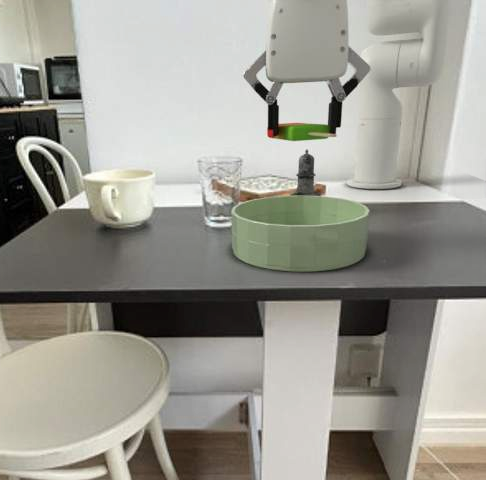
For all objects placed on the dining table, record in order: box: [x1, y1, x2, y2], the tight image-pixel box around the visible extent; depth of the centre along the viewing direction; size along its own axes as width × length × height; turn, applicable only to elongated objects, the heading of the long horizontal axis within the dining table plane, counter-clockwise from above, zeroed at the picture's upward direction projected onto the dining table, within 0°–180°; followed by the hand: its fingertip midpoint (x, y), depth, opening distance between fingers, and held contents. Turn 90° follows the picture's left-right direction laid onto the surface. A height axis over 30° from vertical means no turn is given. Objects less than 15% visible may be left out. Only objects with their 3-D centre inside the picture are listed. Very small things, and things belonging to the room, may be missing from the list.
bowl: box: [230, 195, 371, 273], centre depth 63 cm, size 19×19×6 cm
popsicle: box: [266, 122, 337, 142], centre depth 59 cm, size 6×15×2 cm, turn 16°
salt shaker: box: [288, 149, 322, 196], centre depth 82 cm, size 6×6×12 cm
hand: (303, 133), depth 59 cm, fingers closed on popsicle, 6 cm apart
